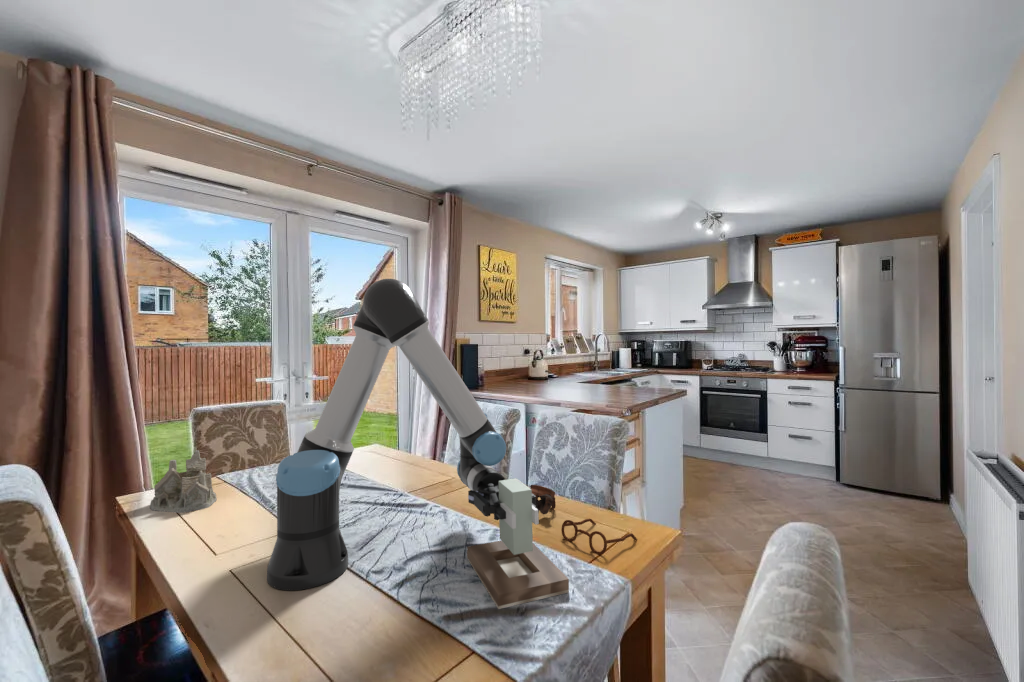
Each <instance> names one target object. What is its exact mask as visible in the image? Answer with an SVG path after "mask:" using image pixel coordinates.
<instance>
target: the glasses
mask: <svg viewBox="0 0 1024 682" xmlns="http://www.w3.org/2000/svg"><path fill="white" fill-rule="evenodd" d="M588 522H590V523H591V524H592V525H596V524H597V523H596V522H595V521H594V520H593V519H592V518H586V519H583V520H580V521H575V522H574V521H573V520H571V519H566V520H564V521H563V523H562V525H561V536H562V538H563V539H564V540H565V541H568V542H570V543H572V542H575V541H576V539H577V537H578V533H580V534H583V535H585V536H588V544H589V548H590V550H591V551H592V553H594V554H596V555H599V556H601V555H604V554H605V553H606V551H607V549H608V548H607V546H608V544H613V543H620V542H624V541H625V540H627V539H628V538H632V539H633V541H635V540H636V541H638V538H637V537H636V536H635V535H634V534H633V533H632V532H631V533H628V534H625V535H624V536H623V537H618V538H612V539H607V538H606V536H605V534H604V533H603V532H602V531H597V530H595V531H592V532H591V533H589V532H588V531H587V530H584V529H581V528H580V529H578V526H581V525H583V524H585V523H588ZM570 526H571V527H573V528H574V535H573V537H572V538H568V536H567V535H566V533H565V528H566V527H570ZM595 535H598V536H600V537H601V538H602V539H603V548H602V550H601V551H598V550H596V549H595V548H594V546H593V541H592V540H593V537H594V536H595Z"/></svg>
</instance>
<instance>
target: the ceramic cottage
mask: <svg viewBox="0 0 1024 682" xmlns="http://www.w3.org/2000/svg"><path fill="white" fill-rule="evenodd" d="M206 460H207V459H206V457H203V458H201V454H200V450H195V451H194V454H192V455H191V458H188V459H187V458H186V459H185V470H186V471H181V472H179V471H177V470H178V467H177V466H178V465H177V460H176V459H170V460H169V463H168V464H169V465H168V470H167V472H166V473H165V474H164V476H163V477H162V478H161V479H160V480H159V481H158V482H157V483H156V484H155V485H154V497H153V498H152V499H151V500H150V504H149V509H150V510H151V511H155V512H156V511H157V512H168V513H176V514H177V513H178V514H179V513H181V514H182V513H189V512H193V511H199V510H200V511H201V510H204V509H208V508H210V507H211V506H212V505H214V504H215V503H216V501H217V498H218V497H217V494H216V492H214V489H213V481H212V476H213V475H212V473H211V472H210V473H206V470H207V461H206Z"/></svg>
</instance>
